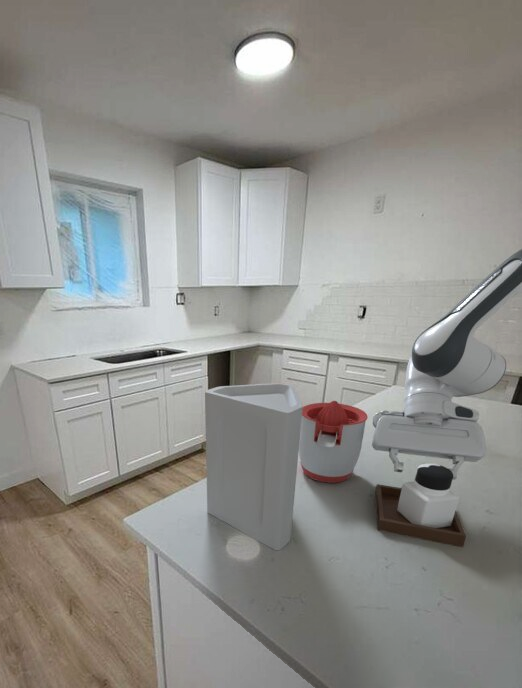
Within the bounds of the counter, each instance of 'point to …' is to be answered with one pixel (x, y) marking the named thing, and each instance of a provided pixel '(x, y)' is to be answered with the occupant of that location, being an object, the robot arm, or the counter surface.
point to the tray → (400, 525)
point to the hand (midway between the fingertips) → (424, 474)
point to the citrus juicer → (330, 440)
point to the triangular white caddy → (253, 458)
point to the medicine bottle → (429, 497)
